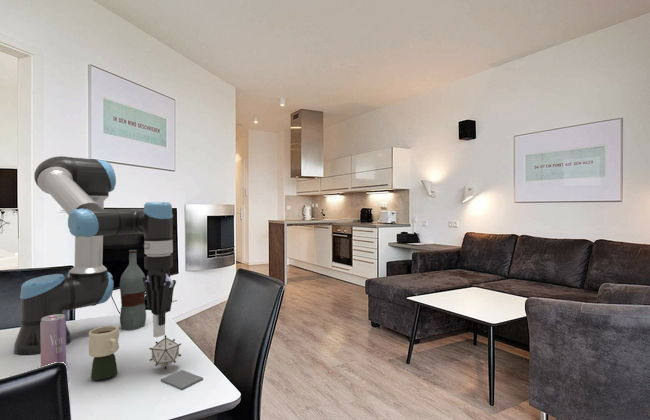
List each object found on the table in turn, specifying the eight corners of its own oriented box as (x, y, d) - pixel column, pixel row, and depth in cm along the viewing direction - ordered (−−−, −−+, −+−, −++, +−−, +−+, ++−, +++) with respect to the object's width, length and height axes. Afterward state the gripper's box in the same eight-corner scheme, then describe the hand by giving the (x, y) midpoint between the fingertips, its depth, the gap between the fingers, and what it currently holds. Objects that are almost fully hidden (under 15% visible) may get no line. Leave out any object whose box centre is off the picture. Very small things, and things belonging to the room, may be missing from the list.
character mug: (128, 376, 100) (128, 329, 100) (102, 387, 94) (101, 337, 94) (106, 367, 106) (106, 323, 106) (80, 377, 99) (79, 330, 99)
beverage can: (62, 362, 109) (62, 312, 109) (69, 367, 106) (68, 316, 105) (38, 369, 105) (37, 317, 105) (44, 375, 101) (43, 321, 101)
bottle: (124, 323, 146) (124, 249, 146) (149, 322, 148) (148, 248, 147) (115, 331, 137) (115, 252, 136) (142, 330, 138) (141, 251, 138)
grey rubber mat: (160, 381, 97) (160, 379, 97) (182, 372, 103) (182, 369, 103) (181, 390, 92) (181, 388, 92) (203, 380, 98) (203, 377, 98)
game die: (169, 377, 99) (169, 341, 99) (141, 375, 101) (141, 339, 101) (187, 364, 108) (187, 330, 108) (162, 361, 110) (162, 328, 110)
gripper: (133, 254, 106) (134, 335, 106) (160, 257, 99) (160, 344, 99) (157, 252, 112) (157, 328, 113) (183, 254, 105) (184, 335, 106)
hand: (159, 335), depth 106 cm, fingers closed
